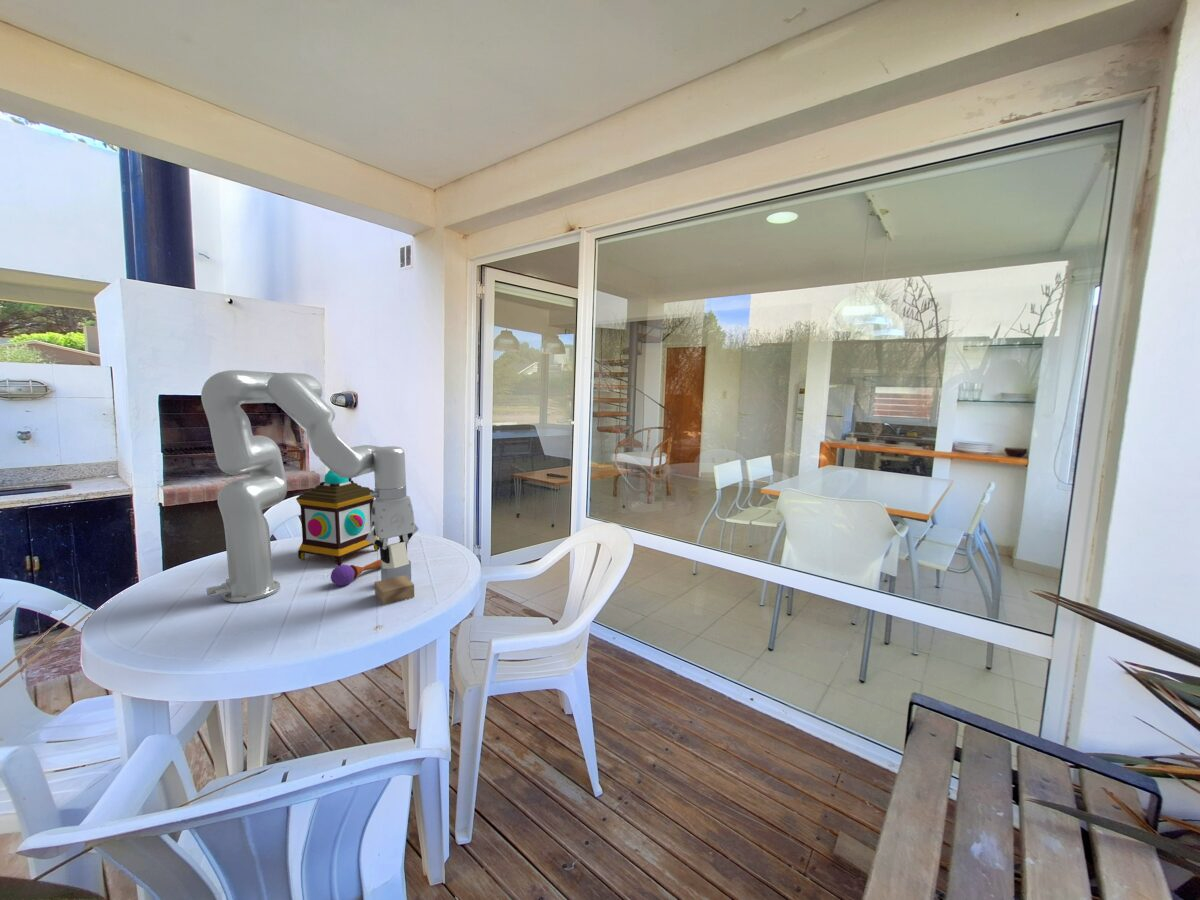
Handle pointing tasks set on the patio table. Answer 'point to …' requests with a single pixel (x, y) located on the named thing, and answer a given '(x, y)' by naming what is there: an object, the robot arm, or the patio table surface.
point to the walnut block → (394, 590)
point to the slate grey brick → (396, 572)
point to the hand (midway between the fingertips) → (394, 559)
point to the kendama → (350, 572)
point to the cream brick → (396, 555)
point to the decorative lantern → (335, 518)
